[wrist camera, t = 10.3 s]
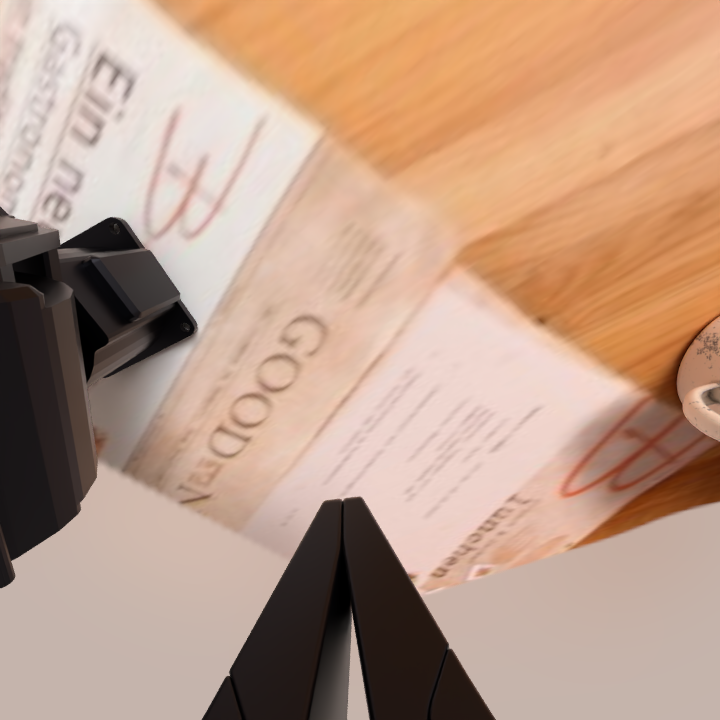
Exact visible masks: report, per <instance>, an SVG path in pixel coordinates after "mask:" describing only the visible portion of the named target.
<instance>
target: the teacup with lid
mask: <svg viewBox="0 0 720 720" xmlns="http://www.w3.org/2000/svg"><path fill="white" fill-rule="evenodd" d="M677 391H678V396H679V398H680V401H681V403H682V404H683V412H684V415H685V417H686V418H687V419H688V421H689V422H690V423H691V424H692V425H693V426H694V427H696V428H697V429H698V430H700V431H701V432H703V433H704V434H706V435H707V436H709V437H711V438H713V439H715V440H717V441H719V442H720V316H719V317H718V318H716V319H715V320H714V321H712V322H711V323H710V324H709V325H708V326H707V327H706V328H705V329H704V330H703V331H702V332H701V333H700V334H699V335H698V336H697V337H696V339H695V340H694V341H693V342H692V344H691V345H690V347H689V348H688V350H687V352H686V353H685V355H684V357H683V359H682V362H681V364H680V367H679V371H678V376H677Z"/></svg>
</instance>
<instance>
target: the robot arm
mask: <svg viewBox="0 0 720 720" xmlns="http://www.w3.org/2000/svg"><path fill="white" fill-rule="evenodd" d="M115 224H117V225H118V226H119V228H120V232H119V233H117V232H116V231H115V230H114V225H115ZM183 323H187V324H188V325H189V326H190V330H187V329H185V328H184V326H183ZM196 330H197V323H196V321H195V320H194V318H193V317H192V315H191V314H190V312H189V311H188V310H187V308H186V307H185V305H184V304H183V302H182V301H181V299H180V293H179V291H178V290H177V288H176V287H175V285H174V284H173V282H172V281H171V280H170V278H169V277H168V275H167V274H166V272H165V271H164V269H163V268H162V267H161V265H160V264H159V262H158V261H157V259H156V258H155V256H154V255H153V254H152V252H151V251H150V250H147V249H145V248H144V246H143V245H142V243H141V242H140V241H139V239H138V238H137V236H136V235H135V233H134V232H133V230H132V229H131V228H130V226H129V225H128V223H127V222H126V221H125V220H123V219H121V218H117V217H110V218H107V219H105V220H103V221H102V222H100V223H98V224H96V225H95V226H93V227H91V228H89V229H88V230H86V231H84V232H82V233H81V234H79V235H77V236H75V237H73V238H72V239H70V240H68V241H66V242H65V243H63V244H61V245H60V239H59V232H58V230H56V229H51V228H44V227H38V225H37V223H35V222H30V221H25V220H20V219H15V217H14V216H10V215H8V214H7V213H6V212H5V211H4V210H3V209H2V208H1V207H0V588H3V587H5V586H7V585H8V584H10V583H11V582H12V581H13V580H14V578H15V573H14V570H13V566H12V563H11V561H12V560H14V559H16V558H18V557H19V556H21V555H22V554H24V553H26V552H27V551H29V550H30V549H32V548H33V547H35V546H36V545H38V544H40V543H41V542H43V541H44V540H46V539H47V538H49V537H50V536H52V535H53V534H55V533H56V532H58V531H60V529H62V528H63V527H64V526H65V525H66V524H67V523H69V522H70V521H71V520H72V519H73V518H74V517H75V516H76V515H77V514H78V513H79V512H80V510H81V507H80V502H81V501H82V500H83V499H84V497H85V495H86V494H87V493H88V491H89V489H90V487H91V486H92V484H93V483H94V481H95V479H96V478H97V462H98V460H97V453H96V446H95V439H94V432H93V425H92V418H91V411H90V404H89V397H88V390H87V388H88V387H89V386H91V385H92V384H94V383H95V382H97V381H98V380H100V379H101V378H107V377H109V376H111V375H113V374H115V373H117V372H119V371H121V370H123V369H125V368H127V367H129V366H131V365H133V364H135V363H137V362H139V361H141V360H143V359H145V358H147V357H149V356H151V355H153V354H155V353H157V352H159V351H161V350H163V349H165V348H167V347H169V346H171V345H173V344H175V343H177V342H179V341H181V340H183V339H185V338H187V337H189V336H191V335H192V334H193V333H194V332H196ZM352 614H353V620H354V626H355V633H356V638H357V645H358V650H359V657H360V663H361V669H362V676H363V682H364V688H365V694H366V700H367V706H368V713H369V719H370V720H496V719H495V718H494V716H493V715H492V713H491V712H490V710H489V708H488V707H487V705H486V704H485V702H484V700H483V699H482V697H481V696H480V694H479V692H478V691H477V689H476V688H475V686H474V684H473V683H472V681H471V680H470V678H469V677H468V675H467V673H466V672H465V670H464V668H463V667H462V665H461V663H460V662H459V660H458V658H457V656H456V655H455V653H454V652H453V650H452V649H449V644H448V642H447V640H446V638H445V637H444V635H443V633H442V631H441V630H440V628H439V627H438V625H437V623H436V621H435V620H434V618H433V616H432V615H431V613H430V611H429V610H428V608H427V606H426V604H425V603H424V601H423V599H422V598H421V596H420V594H419V593H418V591H417V589H416V587H415V586H414V584H413V582H412V581H411V579H410V577H409V576H408V574H407V572H406V571H405V569H404V567H403V566H402V564H401V562H400V560H399V559H398V557H397V555H396V554H395V552H394V550H393V549H392V547H391V545H390V544H389V542H388V540H387V538H386V537H385V535H384V533H383V532H382V530H381V528H380V527H379V525H378V523H377V522H376V520H375V518H374V516H373V515H372V513H371V511H370V510H369V508H368V506H367V505H366V503H365V501H364V500H363V498H362V497H351V498H345V499H344V500H343V501H342V500H341V499H334V500H326V501H324V502H323V503H322V505H321V507H320V509H319V510H318V512H317V514H316V516H315V518H314V519H313V521H312V523H311V525H310V527H309V528H308V530H307V532H306V534H305V536H304V537H303V539H302V541H301V543H300V545H299V546H298V548H297V550H296V552H295V554H294V555H293V557H292V559H291V561H290V563H289V564H288V566H287V568H286V570H285V572H284V573H283V575H282V577H281V579H280V581H279V582H278V584H277V586H276V588H275V590H274V591H273V593H272V595H271V597H270V599H269V601H268V602H267V604H266V606H265V608H264V609H263V611H262V613H261V615H260V617H259V618H258V620H257V622H256V624H255V626H254V628H253V629H252V631H251V633H250V635H249V637H248V638H247V640H246V642H245V644H244V645H243V647H242V649H241V651H240V653H239V654H238V656H237V658H236V660H235V662H234V664H233V665H232V667H231V669H230V671H229V673H230V676H227V677H226V678H225V679H224V681H223V683H222V685H221V687H220V688H219V691H218V692H217V694H216V696H215V697H214V699H213V701H212V703H211V705H210V706H209V708H208V710H207V712H206V713H205V715H204V717H203V718H202V720H347V706H348V705H347V704H348V685H349V666H350V645H351V622H352Z"/></svg>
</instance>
